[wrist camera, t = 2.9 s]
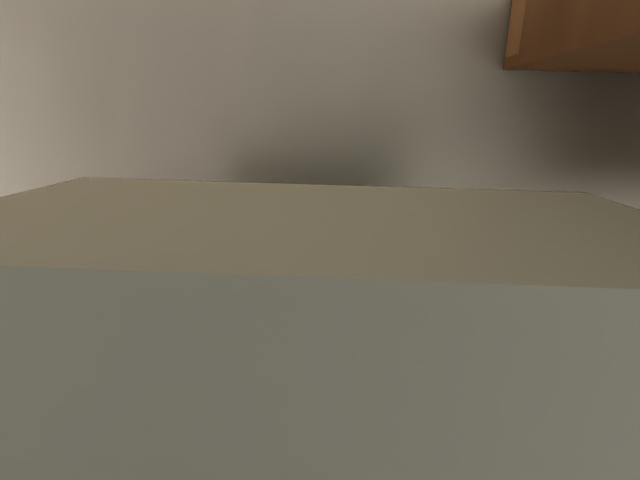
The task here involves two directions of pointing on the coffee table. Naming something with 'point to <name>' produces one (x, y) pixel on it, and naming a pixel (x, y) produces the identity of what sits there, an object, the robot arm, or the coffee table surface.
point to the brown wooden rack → (574, 35)
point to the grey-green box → (317, 333)
